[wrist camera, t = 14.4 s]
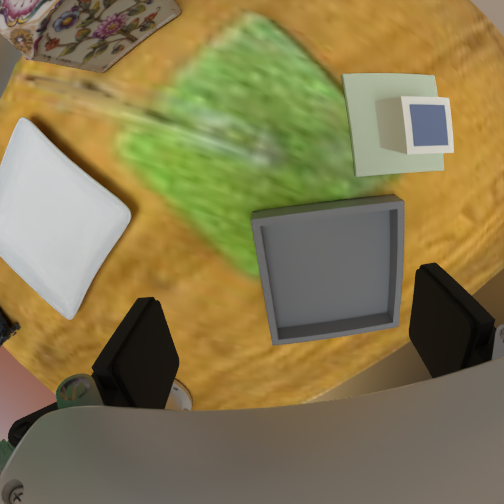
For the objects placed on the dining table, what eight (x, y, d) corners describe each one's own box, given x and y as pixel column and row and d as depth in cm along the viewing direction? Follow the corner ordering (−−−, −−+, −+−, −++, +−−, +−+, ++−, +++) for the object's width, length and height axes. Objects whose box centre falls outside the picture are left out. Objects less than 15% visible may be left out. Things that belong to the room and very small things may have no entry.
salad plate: (145, 205, 34) (134, 214, 31) (80, 312, 41) (69, 324, 38) (35, 111, 30) (19, 112, 26) (-7, 227, 37) (-20, 235, 34)
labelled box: (420, 145, 28) (454, 152, 22) (380, 147, 29) (408, 154, 22) (416, 100, 26) (449, 97, 20) (374, 101, 27) (401, 96, 21)
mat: (440, 169, 30) (444, 170, 29) (354, 175, 31) (356, 177, 30) (431, 76, 26) (434, 75, 25) (341, 75, 27) (342, 73, 26)
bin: (391, 313, 38) (398, 326, 35) (272, 330, 40) (272, 345, 37) (393, 194, 32) (404, 200, 29) (252, 211, 33) (250, 219, 31)
